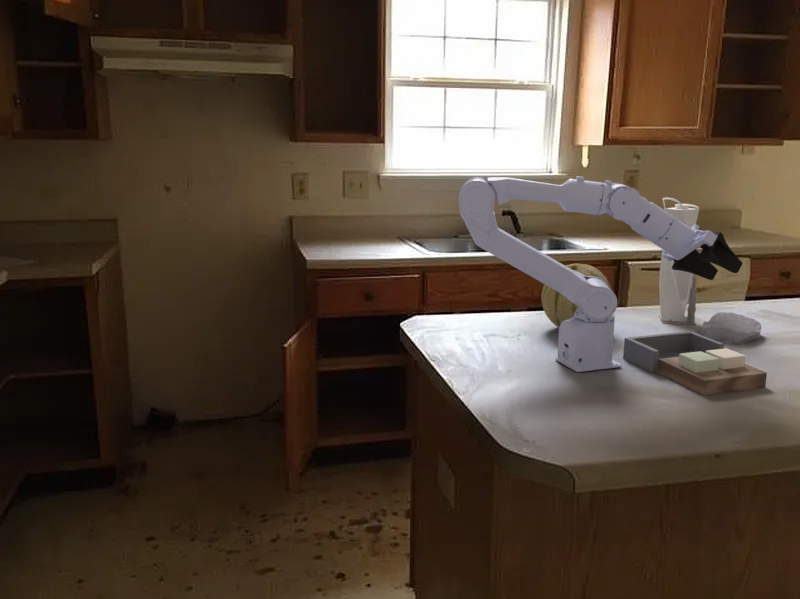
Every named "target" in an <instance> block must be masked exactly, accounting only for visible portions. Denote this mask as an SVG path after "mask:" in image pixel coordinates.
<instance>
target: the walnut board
mask: <svg viewBox="0 0 800 599" xmlns="http://www.w3.org/2000/svg"><path fill="white" fill-rule="evenodd" d="M678 362H679V357H672V358H663V359H659V360H658V372H657V373H658V374H659V375H662V376H664V377H666V378H668V379H670V380H672V381H674V382H676V383H678V384H680V385H682V386H684V387H686V388H688V389H691V390H692V391H694V392H696V393H698V394H701V395H702V396H707V395H716V394H722V393H723V394H724V393H730V392H738V391H745V390H751V389H759V388H766V385H767V384H766V383H767V376H768V375H767V374H768V372H766V371H763V370H760V369H759V368H756V367H753V366H751V365H749V364H746V363H745V365H744V367H739V368H730V369H721V368H718V370H714V371H706V372H698V373H695V372H693V371H691V370H689V369H687V368H684V367H682V366H680V365H678Z"/></svg>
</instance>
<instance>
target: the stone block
mask: <svg viewBox="0 0 800 599" xmlns="http://www.w3.org/2000/svg"><path fill="white" fill-rule="evenodd" d="M761 332H762V324H761V323H760V322H759V321H757V320H756V319H755V318H751V317H747V316H745V315H743V314H739V313H735V312H725V311H721V312H716V313H715V314H713V315H712V316H711V317H710V319H709V320H708V321H704V322H702V325H701V332H700V335H702V336H705V337H708V338H710V339H713V340H715V341H718V342H721V343H726V344H731V345H741V344H742V343H743V342H744V343H747V342H751V341H754V340H756V338H757V339H759V338H760V336H761ZM753 339H754V340H753ZM746 341H747V342H746Z"/></svg>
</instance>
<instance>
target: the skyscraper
mask: <svg viewBox="0 0 800 599" xmlns="http://www.w3.org/2000/svg"><path fill="white" fill-rule="evenodd" d="M661 200H662V204H663V210H665V211H666V212H668V213H669V214H671V215H672V216H674V217H675V218H677V219H678V220H680V221H681V222H683V223H684V224H686V225H687V226H689V227H690V228H691V227H692V226H694V225H697V221H698V217H699V212H700V207H699V205H695V204H692V203H691V204H690V203H682V202H680V200H678V199H676V198H673V197H667V196H666V197H663V198H662V199H661ZM666 200H670V201H672V202H676V203H675V204H674V207H668V208H667V207H666ZM663 252H664V250H663V249H662V252H661V259H660V267H659V282H658V283H659V307H660V308H659V309H660V312H659V313H658V318H659V320H660V321H661V323H662V324H665V325H667V324H668V325H669V324H670V325H687V326H696V323H695V322H696V321H695V320H696V316H695V315H696V310H697V308H696V304H697V303H696V302H697V293H698V288H696V287H697V286H696V284H697V278H698V277H697V275H695V274H693V273H689V272H685V271H679V270H673V269H672V266H673V264H674V260H672V261H669V260H667V259H666V258H664V257H663V256H662V254H663ZM686 310H687V315H685V313H686Z"/></svg>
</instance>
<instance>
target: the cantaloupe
mask: <svg viewBox="0 0 800 599" xmlns="http://www.w3.org/2000/svg"><path fill="white" fill-rule="evenodd" d="M564 265H565V266H566V267H568V268H570V269H572V270H574V271H577V272H580V273H582V274H583V275H586V276H591V277H598V278H601V279H603V280H604V281H605V282H606V283H607V285H608V287H609V289H610V290H612V286H611V285H610V282H609V280H608V279H607V277H606V276H605V275H604V274H603V273H602V272H601V271H600V270H599V269H598V268H596V267H595V266H592V265H590V264H584V263H572V264H564ZM540 298H541V304H542V309H543V311H544V314H545V315H546V317H547V318H548V319H549V320H550V322H551V323H552V324H553V325H554V326H555V327H557V328H559V327H560V325H561V323H562V322H563V321H564V320H568V319H571V318H572V317H574V312H575V311H576V310H577V308H578V307H579V306H577V305H576V304H574V303H572V302H571V301H570V300H568V299H567V298H566V297H565V296H563V295H562V294H561V293H559V292H558V291H556V290H554V289H552V288H551V287H549V286H547V285H545V284H544V285H543V287H542V290H541V297H540Z"/></svg>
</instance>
